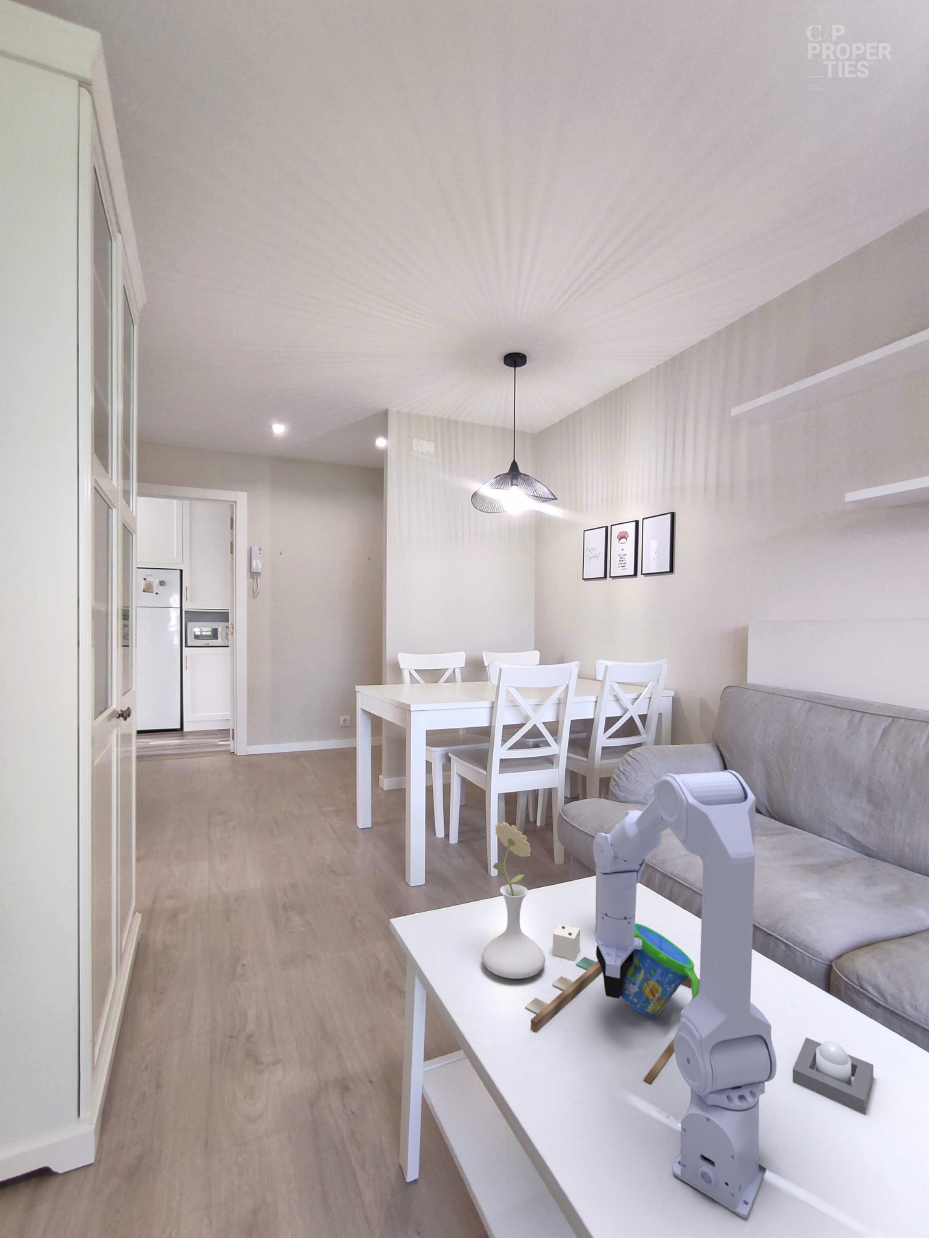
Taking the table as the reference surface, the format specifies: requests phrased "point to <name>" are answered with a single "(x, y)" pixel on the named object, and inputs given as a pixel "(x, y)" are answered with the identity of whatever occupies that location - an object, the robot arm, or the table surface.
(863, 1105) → the button box
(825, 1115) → the table surface
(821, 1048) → the dome
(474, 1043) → the table surface
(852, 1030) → the table surface
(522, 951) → the flower in vase
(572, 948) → the die
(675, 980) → the snack cup
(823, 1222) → the table surface
